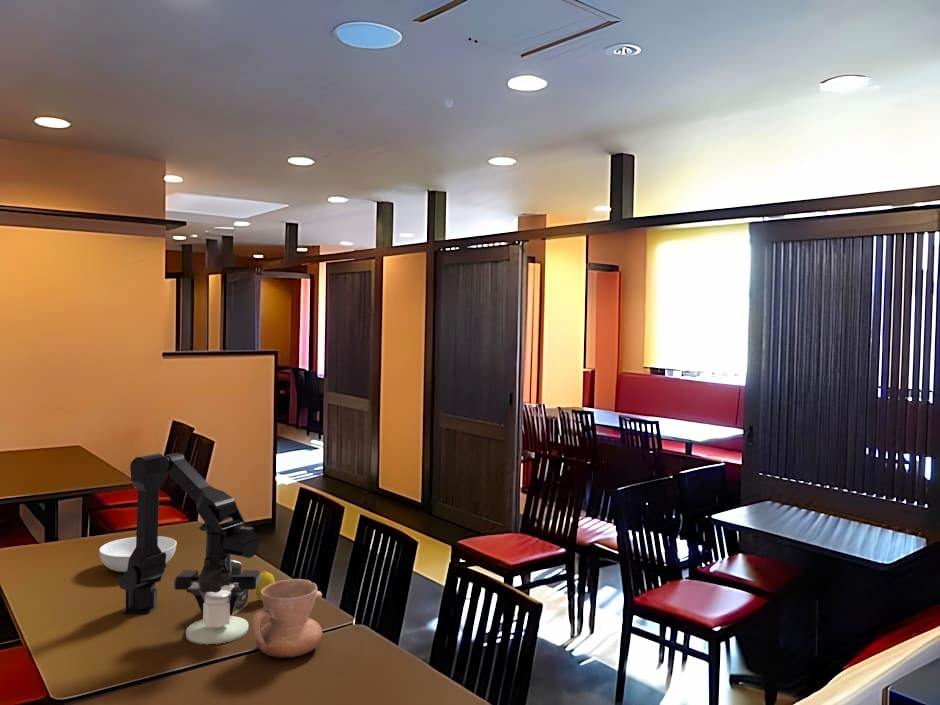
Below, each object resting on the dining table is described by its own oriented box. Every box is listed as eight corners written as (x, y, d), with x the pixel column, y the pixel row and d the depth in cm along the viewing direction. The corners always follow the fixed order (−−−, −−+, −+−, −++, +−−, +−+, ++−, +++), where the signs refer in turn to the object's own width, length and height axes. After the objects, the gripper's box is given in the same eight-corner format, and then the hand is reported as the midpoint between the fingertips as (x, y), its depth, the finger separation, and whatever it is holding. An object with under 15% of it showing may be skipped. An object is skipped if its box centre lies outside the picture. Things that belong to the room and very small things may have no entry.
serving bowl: (191, 565, 217) (191, 543, 216) (125, 586, 199) (126, 561, 199) (149, 552, 228) (149, 530, 227) (84, 570, 210) (84, 547, 210)
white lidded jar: (200, 627, 168) (201, 599, 168) (208, 616, 174) (208, 590, 174) (227, 626, 168) (227, 599, 168) (233, 616, 174) (234, 589, 174)
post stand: (177, 645, 164) (177, 621, 163) (196, 619, 178) (196, 597, 177) (240, 644, 165) (240, 620, 165) (254, 619, 179) (254, 597, 178)
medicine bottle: (234, 615, 181) (234, 568, 180) (208, 612, 182) (208, 565, 182) (248, 604, 188) (248, 559, 187) (223, 602, 189) (223, 557, 189)
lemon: (279, 598, 192) (279, 569, 192) (267, 606, 187) (267, 575, 187) (261, 595, 194) (262, 566, 194) (249, 603, 189) (249, 573, 189)
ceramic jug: (302, 628, 174) (301, 570, 174) (339, 646, 165) (339, 585, 164) (234, 654, 161) (233, 591, 160) (270, 675, 151) (270, 609, 150)
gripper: (166, 561, 162) (165, 629, 162) (250, 561, 163) (249, 629, 164) (182, 546, 173) (181, 610, 173) (261, 546, 174) (260, 609, 175)
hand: (217, 615), depth 171 cm, fingers closed on white lidded jar, 6 cm apart
